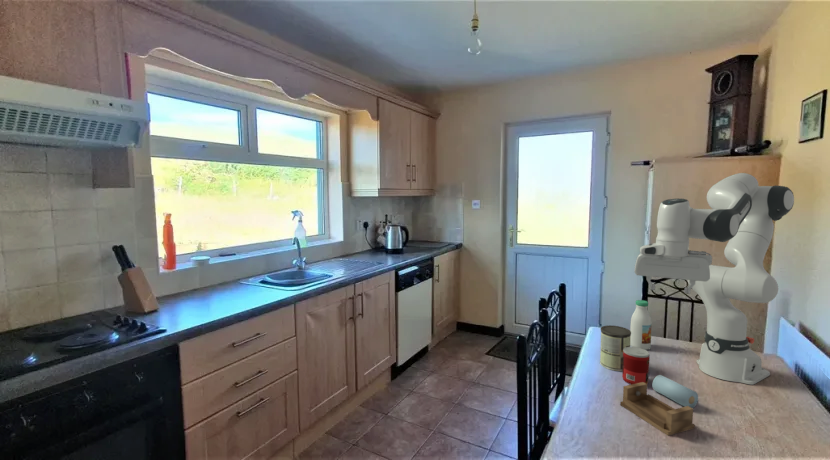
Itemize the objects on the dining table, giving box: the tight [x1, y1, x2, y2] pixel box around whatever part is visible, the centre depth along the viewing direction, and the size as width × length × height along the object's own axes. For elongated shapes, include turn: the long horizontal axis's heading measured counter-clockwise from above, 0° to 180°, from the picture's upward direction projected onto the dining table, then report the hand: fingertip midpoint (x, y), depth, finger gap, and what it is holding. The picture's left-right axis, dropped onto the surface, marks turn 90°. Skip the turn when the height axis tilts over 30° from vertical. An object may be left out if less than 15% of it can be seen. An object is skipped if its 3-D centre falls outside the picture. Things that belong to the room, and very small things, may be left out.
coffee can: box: [599, 325, 631, 372], centre depth 145 cm, size 10×10×14 cm
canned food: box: [621, 346, 651, 385], centre depth 133 cm, size 8×8×11 cm
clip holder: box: [619, 382, 696, 437], centre depth 113 cm, size 10×16×6 cm, turn 18°
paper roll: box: [652, 374, 699, 409], centre depth 121 cm, size 6×11×6 cm, turn 18°
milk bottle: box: [629, 299, 652, 351], centre depth 162 cm, size 8×8×20 cm
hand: (669, 291), depth 123 cm, fingers open, 8 cm apart
